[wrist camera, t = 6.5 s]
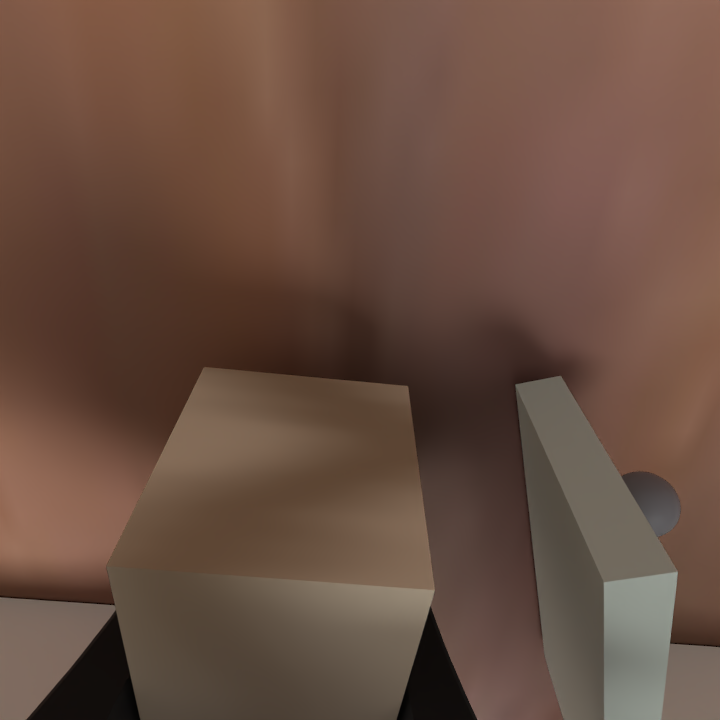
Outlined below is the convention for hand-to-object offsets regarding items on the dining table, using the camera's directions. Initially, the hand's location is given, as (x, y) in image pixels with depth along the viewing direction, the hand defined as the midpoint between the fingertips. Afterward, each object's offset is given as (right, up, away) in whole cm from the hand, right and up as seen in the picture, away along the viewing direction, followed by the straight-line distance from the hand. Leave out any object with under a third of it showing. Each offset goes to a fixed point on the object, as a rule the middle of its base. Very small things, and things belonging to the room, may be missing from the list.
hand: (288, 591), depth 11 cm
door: (+7, 0, +3) cm, 8 cm away
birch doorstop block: (0, +1, +1) cm, 2 cm away
